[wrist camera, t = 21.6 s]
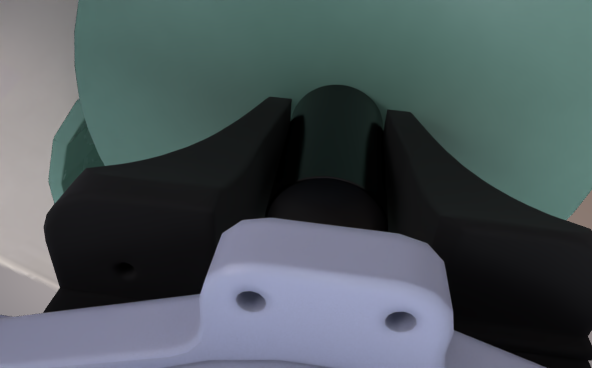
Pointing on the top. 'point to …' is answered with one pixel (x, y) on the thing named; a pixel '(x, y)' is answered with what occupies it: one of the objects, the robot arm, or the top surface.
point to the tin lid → (349, 90)
